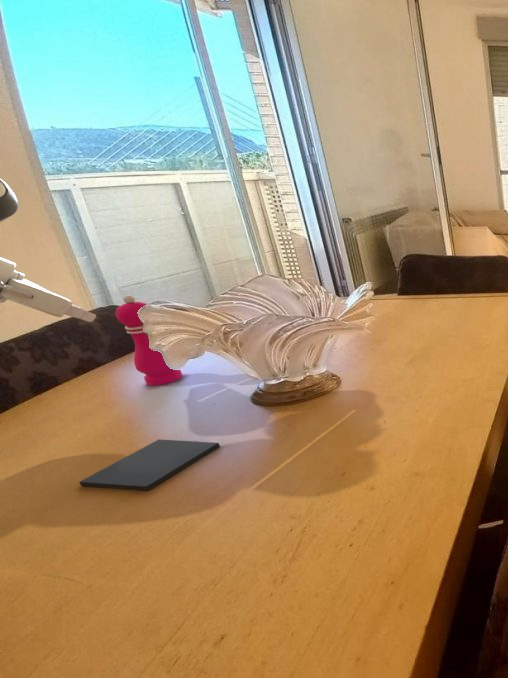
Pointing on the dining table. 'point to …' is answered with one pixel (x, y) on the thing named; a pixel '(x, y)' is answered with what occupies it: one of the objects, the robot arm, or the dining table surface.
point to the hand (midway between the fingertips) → (87, 315)
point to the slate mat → (150, 465)
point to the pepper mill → (144, 346)
